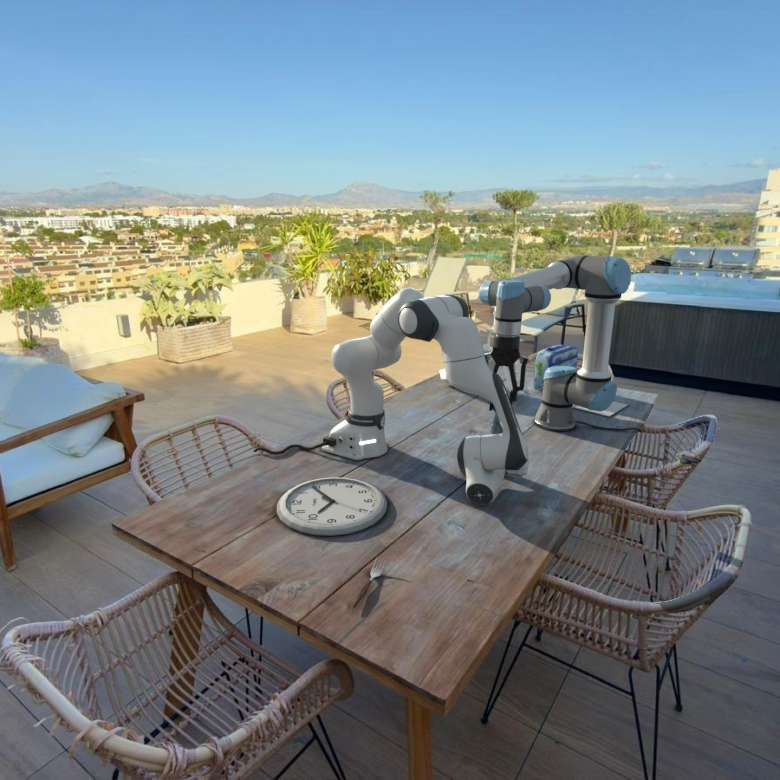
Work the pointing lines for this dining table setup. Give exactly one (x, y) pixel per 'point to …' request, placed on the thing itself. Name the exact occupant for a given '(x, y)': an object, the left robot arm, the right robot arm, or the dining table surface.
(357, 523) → the wall clock
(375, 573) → the fork
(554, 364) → the lunch box
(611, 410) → the invitation card
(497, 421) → the bottle
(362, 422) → the left robot arm
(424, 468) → the dining table surface
